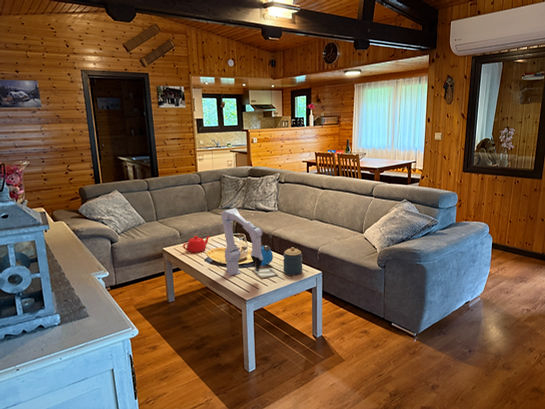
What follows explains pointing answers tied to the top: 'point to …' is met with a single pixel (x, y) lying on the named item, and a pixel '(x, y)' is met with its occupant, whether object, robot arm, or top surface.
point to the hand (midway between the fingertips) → (257, 267)
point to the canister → (292, 261)
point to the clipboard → (265, 273)
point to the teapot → (196, 244)
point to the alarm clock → (266, 255)
